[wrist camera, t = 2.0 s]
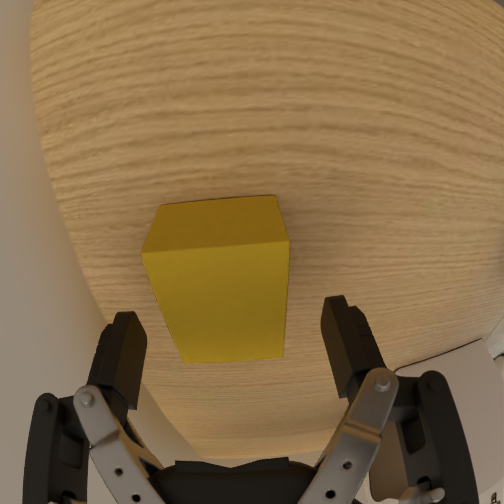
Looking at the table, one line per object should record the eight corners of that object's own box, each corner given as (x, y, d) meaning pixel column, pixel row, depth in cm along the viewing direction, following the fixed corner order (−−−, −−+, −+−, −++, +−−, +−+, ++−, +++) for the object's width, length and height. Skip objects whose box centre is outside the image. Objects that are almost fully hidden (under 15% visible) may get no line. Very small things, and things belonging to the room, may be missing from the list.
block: (159, 204, 12) (139, 254, 9) (275, 194, 12) (290, 241, 9) (188, 312, 16) (183, 364, 13) (275, 306, 16) (283, 357, 13)
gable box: (419, 409, 37) (451, 535, 15) (351, 430, 37) (376, 569, 15) (483, 336, 24) (544, 520, 1) (397, 367, 23) (448, 595, 1)
